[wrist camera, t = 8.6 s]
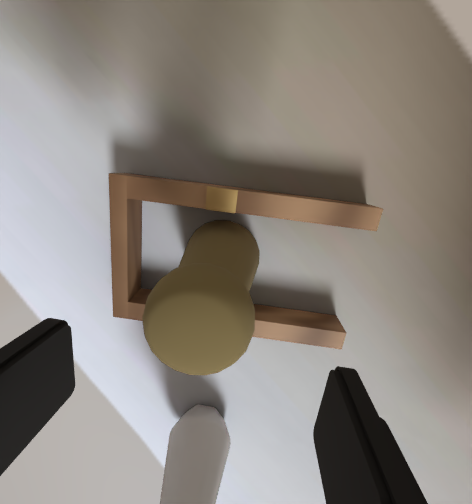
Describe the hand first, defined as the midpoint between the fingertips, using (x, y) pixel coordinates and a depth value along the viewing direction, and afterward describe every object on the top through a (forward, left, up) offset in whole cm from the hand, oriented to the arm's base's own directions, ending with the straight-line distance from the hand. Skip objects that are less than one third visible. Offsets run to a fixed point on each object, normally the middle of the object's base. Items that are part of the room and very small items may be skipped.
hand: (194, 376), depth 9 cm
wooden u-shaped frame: (-1, 0, -13) cm, 13 cm away
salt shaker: (+1, +18, -13) cm, 22 cm away
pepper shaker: (0, 0, -13) cm, 13 cm away
